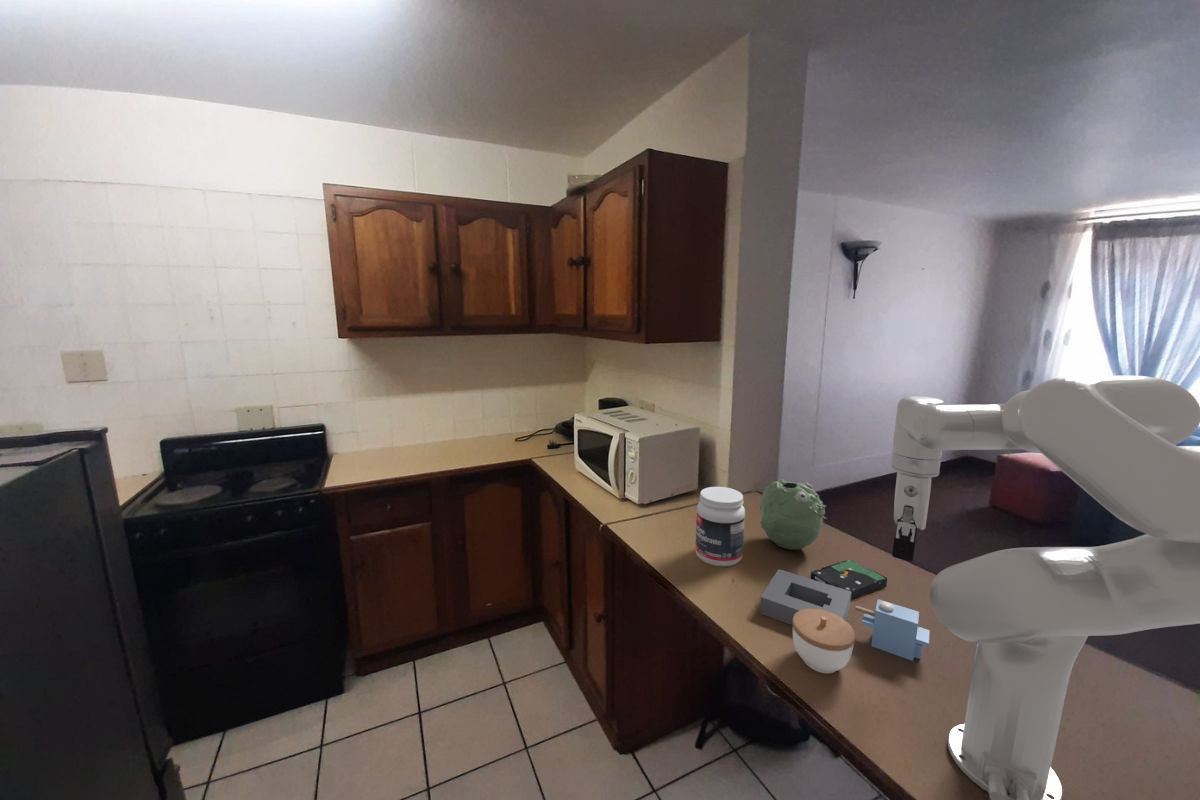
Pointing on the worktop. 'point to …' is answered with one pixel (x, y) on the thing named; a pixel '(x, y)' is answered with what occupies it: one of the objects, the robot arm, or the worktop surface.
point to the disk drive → (850, 577)
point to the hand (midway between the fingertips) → (904, 547)
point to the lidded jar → (822, 639)
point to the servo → (895, 629)
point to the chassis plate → (801, 597)
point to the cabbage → (791, 514)
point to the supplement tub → (720, 526)
